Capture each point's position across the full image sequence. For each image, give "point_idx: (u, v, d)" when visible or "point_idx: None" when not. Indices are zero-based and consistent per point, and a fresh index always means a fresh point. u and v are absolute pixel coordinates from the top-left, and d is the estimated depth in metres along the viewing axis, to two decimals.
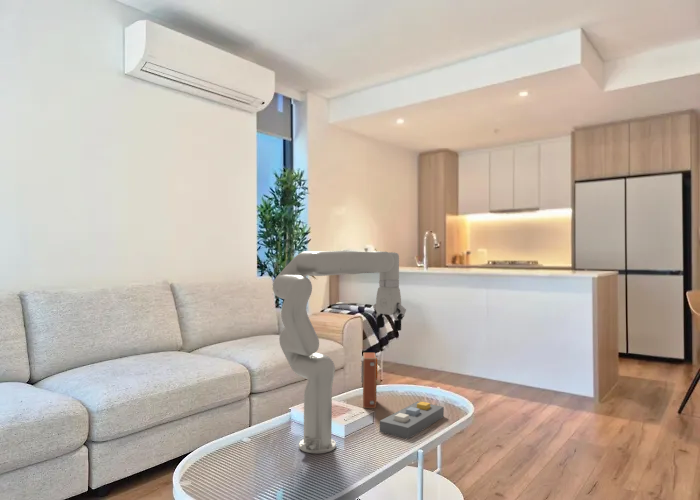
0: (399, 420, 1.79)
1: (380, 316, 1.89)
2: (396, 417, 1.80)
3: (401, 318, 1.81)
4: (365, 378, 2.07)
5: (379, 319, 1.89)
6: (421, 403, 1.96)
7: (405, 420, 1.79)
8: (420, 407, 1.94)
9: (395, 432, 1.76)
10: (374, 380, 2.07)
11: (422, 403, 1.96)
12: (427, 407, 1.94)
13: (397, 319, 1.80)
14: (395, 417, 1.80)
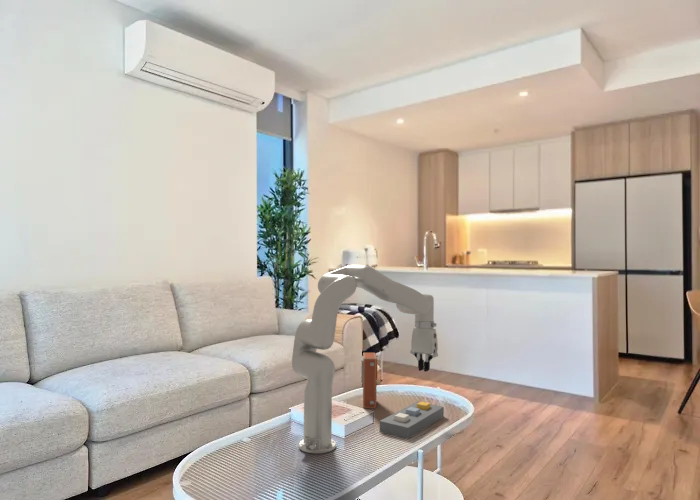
0: (399, 420, 1.79)
1: None
2: (396, 417, 1.80)
3: (417, 358, 1.97)
4: (365, 378, 2.07)
5: None
6: (421, 403, 1.96)
7: (405, 420, 1.79)
8: (420, 407, 1.94)
9: (395, 432, 1.76)
10: (374, 380, 2.07)
11: (422, 403, 1.96)
12: (427, 407, 1.94)
13: None
14: (395, 417, 1.80)
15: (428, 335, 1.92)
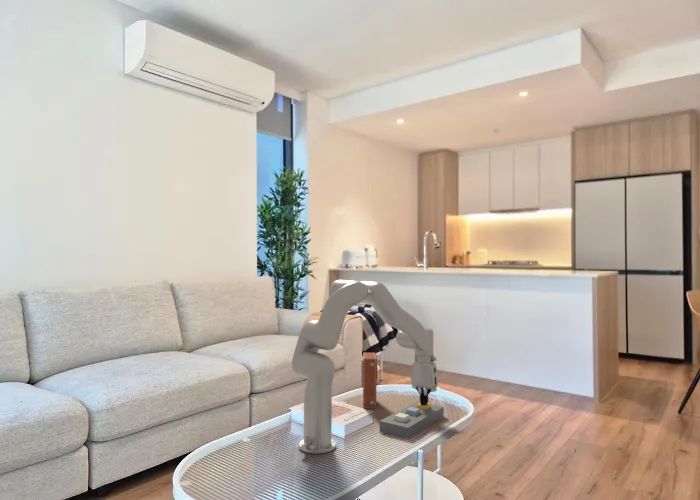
0: (399, 420, 1.79)
1: None
2: (396, 417, 1.80)
3: None
4: (365, 378, 2.07)
5: None
6: None
7: (405, 420, 1.79)
8: (420, 408, 1.94)
9: (395, 432, 1.76)
10: (374, 380, 2.07)
11: None
12: (427, 408, 1.94)
13: None
14: (395, 417, 1.80)
15: (428, 369, 1.92)
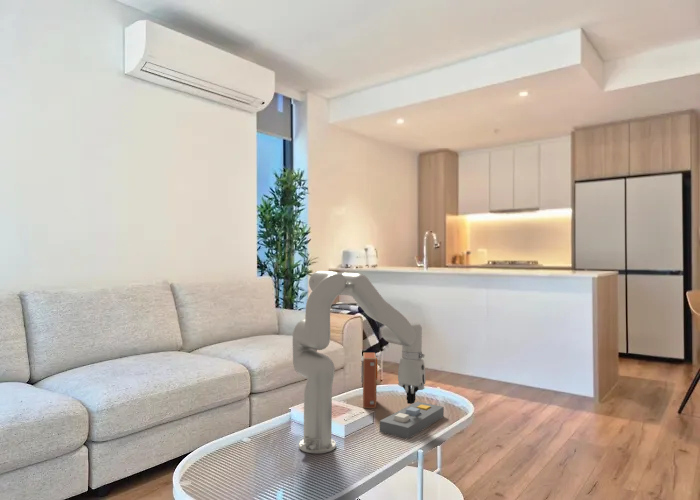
0: (399, 420, 1.79)
1: None
2: (396, 417, 1.80)
3: None
4: (365, 378, 2.07)
5: None
6: (421, 406, 1.96)
7: (405, 420, 1.79)
8: None
9: (395, 432, 1.76)
10: (374, 380, 2.07)
11: (422, 406, 1.96)
12: None
13: None
14: (395, 417, 1.80)
15: (416, 366, 1.84)
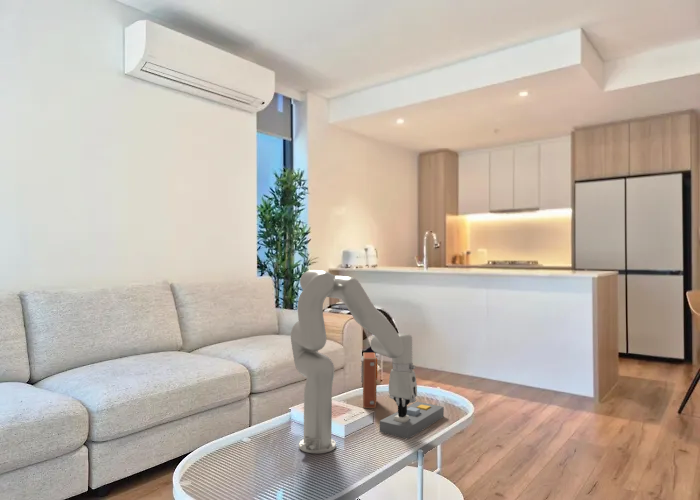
0: (399, 421, 1.79)
1: None
2: (396, 418, 1.80)
3: None
4: (365, 378, 2.07)
5: None
6: (421, 406, 1.96)
7: (405, 421, 1.79)
8: None
9: (395, 432, 1.76)
10: (374, 380, 2.07)
11: (422, 406, 1.96)
12: None
13: None
14: (395, 418, 1.80)
15: (406, 378, 1.78)
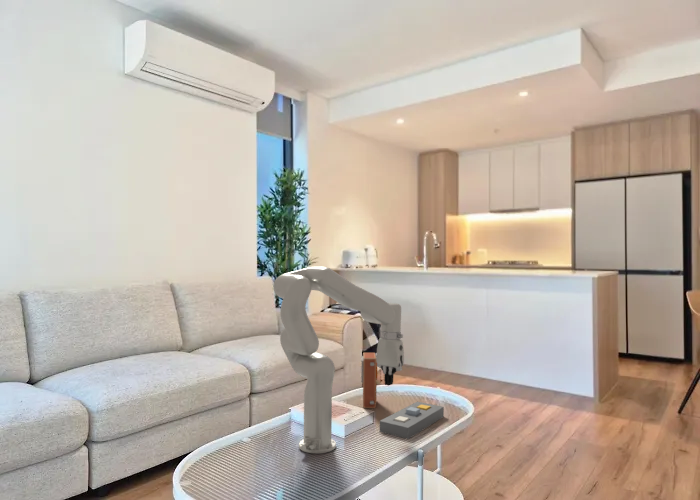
0: None
1: None
2: (396, 420, 1.80)
3: None
4: (365, 378, 2.07)
5: None
6: (421, 406, 1.96)
7: None
8: None
9: (395, 432, 1.76)
10: (374, 380, 2.07)
11: (422, 406, 1.96)
12: None
13: None
14: (395, 420, 1.80)
15: (393, 346, 1.80)
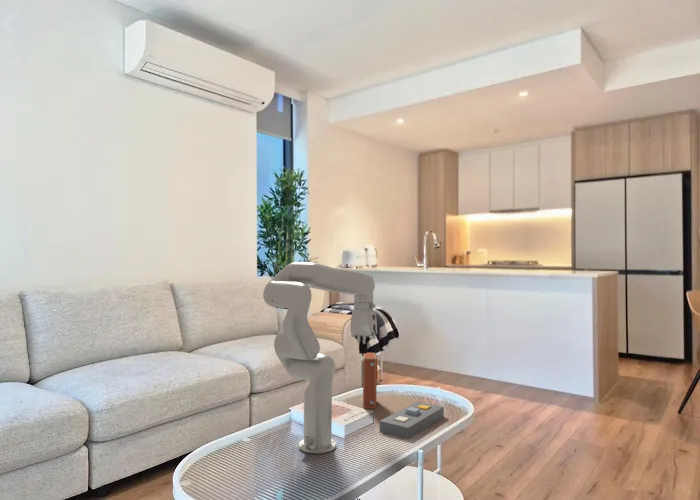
0: None
1: None
2: (396, 420, 1.80)
3: (358, 340, 1.91)
4: (365, 378, 2.07)
5: None
6: (421, 406, 1.96)
7: None
8: None
9: (395, 432, 1.76)
10: (374, 380, 2.07)
11: (422, 406, 1.96)
12: None
13: None
14: (395, 420, 1.80)
15: (366, 316, 1.86)
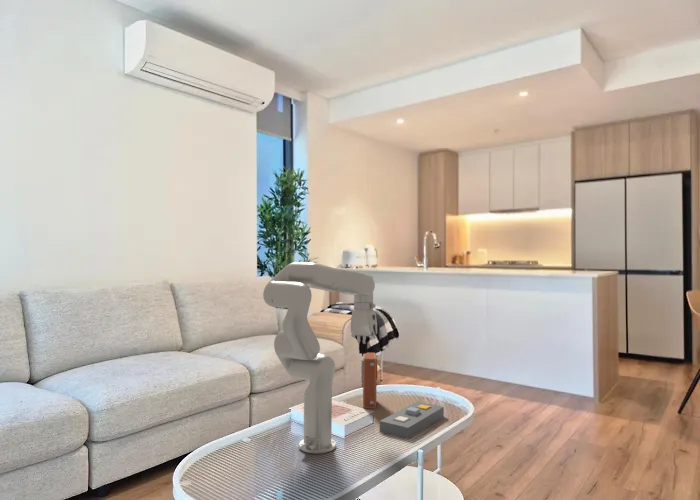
0: None
1: None
2: (396, 420, 1.80)
3: (358, 340, 1.91)
4: (365, 378, 2.07)
5: None
6: (421, 406, 1.96)
7: None
8: None
9: (395, 432, 1.76)
10: (374, 380, 2.07)
11: (422, 406, 1.96)
12: None
13: None
14: (395, 420, 1.80)
15: (366, 316, 1.86)
